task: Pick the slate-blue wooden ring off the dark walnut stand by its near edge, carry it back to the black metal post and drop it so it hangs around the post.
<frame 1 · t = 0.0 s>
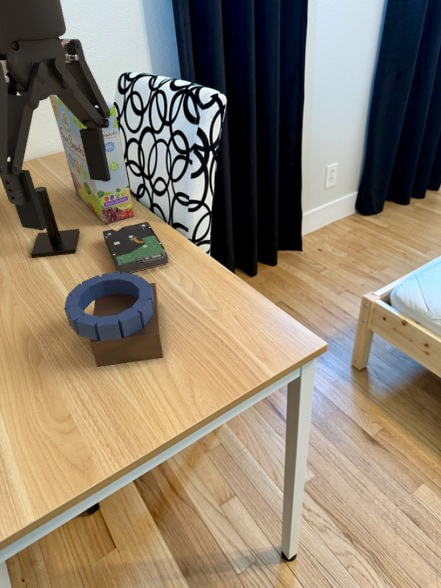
hand: (70, 201, 52), 25 cm above the table, tool pointing down, fingers open, 13 cm apart
disk drive: (135, 253, 90), on the table
snack box: (103, 205, 109), on the table
stand: (130, 333, 70), on the table
ring: (112, 311, 67), point 5 cm above the table, touching stand
post: (56, 244, 94), on the table
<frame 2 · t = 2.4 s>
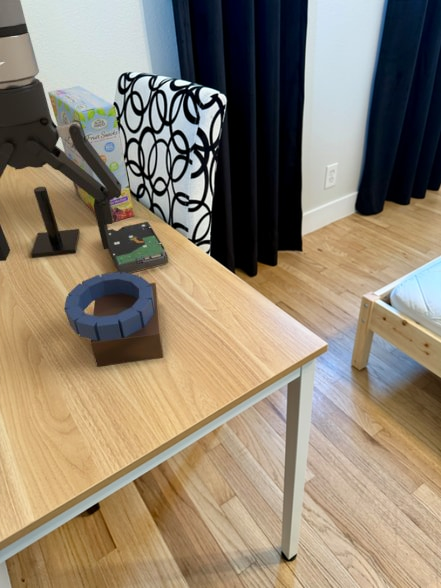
hand: (56, 250, 59), 17 cm above the table, tool pointing down, fingers open, 13 cm apart
nothing on the table moved.
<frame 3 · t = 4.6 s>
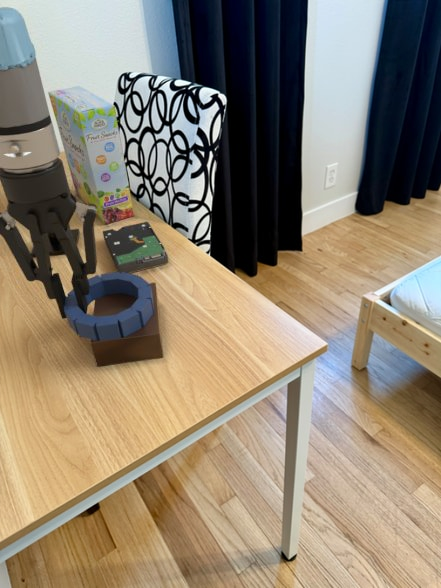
hand: (75, 311, 66), 6 cm above the table, tool pointing down, fingers closed on ring, 2 cm apart
ring: (112, 311, 67), point 5 cm above the table, touching gripper, stand
everything else where it was.
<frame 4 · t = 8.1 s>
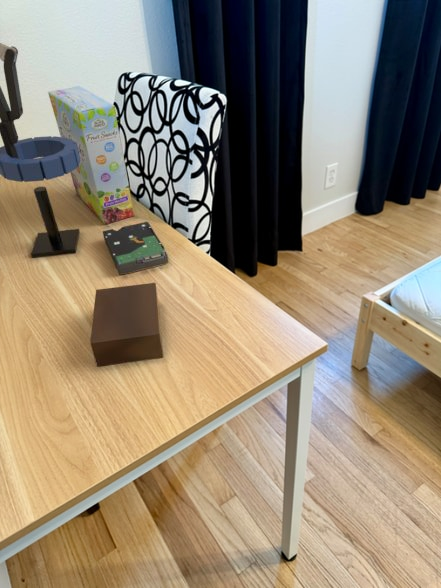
hand: (6, 163, 72), 22 cm above the table, tool pointing down, fingers closed on ring, 2 cm apart
ring: (41, 166, 74), point 21 cm above the table, touching gripper
everything else where it was.
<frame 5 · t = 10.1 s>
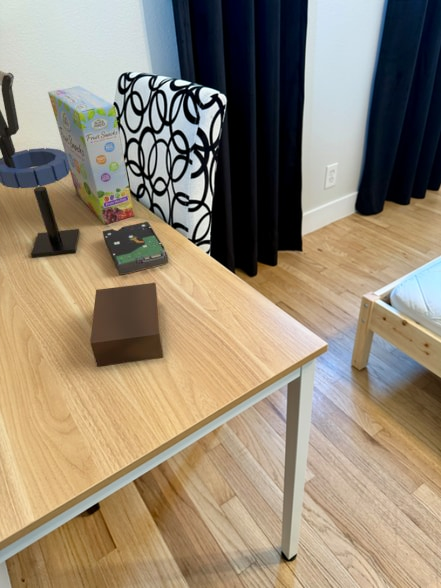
hand: (4, 172, 83), 17 cm above the table, tool pointing down, fingers closed on ring, 2 cm apart
ring: (35, 174, 84), point 16 cm above the table, touching gripper
everything else where it was.
when the fingers open (12 cm above the table, at t = 11.8 s): ring drops 10 cm, resting on post.
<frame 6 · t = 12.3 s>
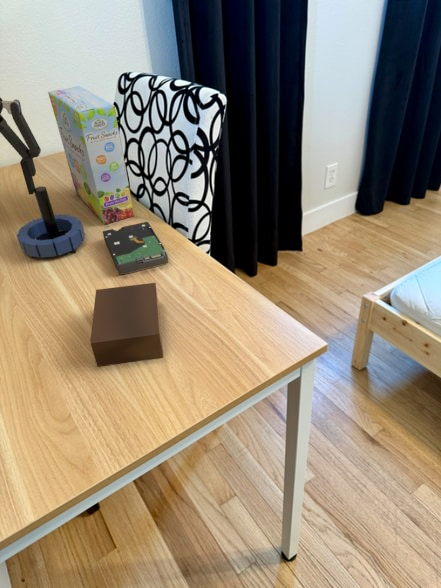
hand: (6, 193, 85), 13 cm above the table, tool pointing down, fingers open, 9 cm apart
ring: (53, 241, 93), point 1 cm above the table, touching post
everything else where it was.
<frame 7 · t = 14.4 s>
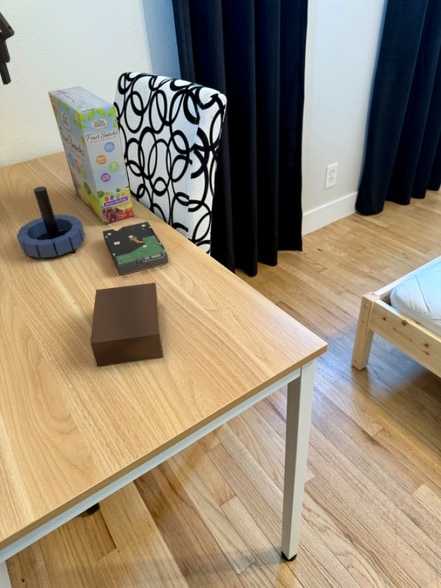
nothing on the table moved.
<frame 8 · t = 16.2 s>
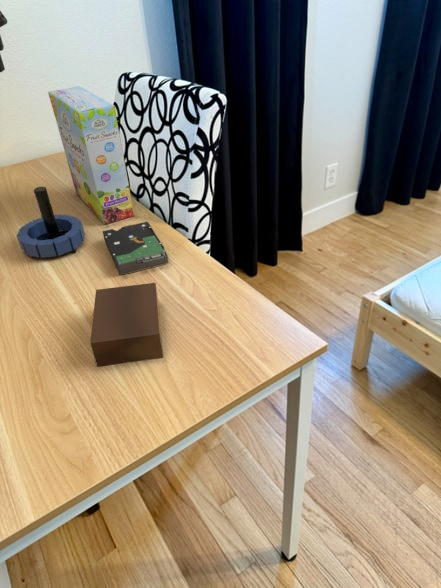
nothing on the table moved.
at the end: ring 0.4 cm from the post (horizontally); ring point 1.0 cm above the table; the gripper is holding nothing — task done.
